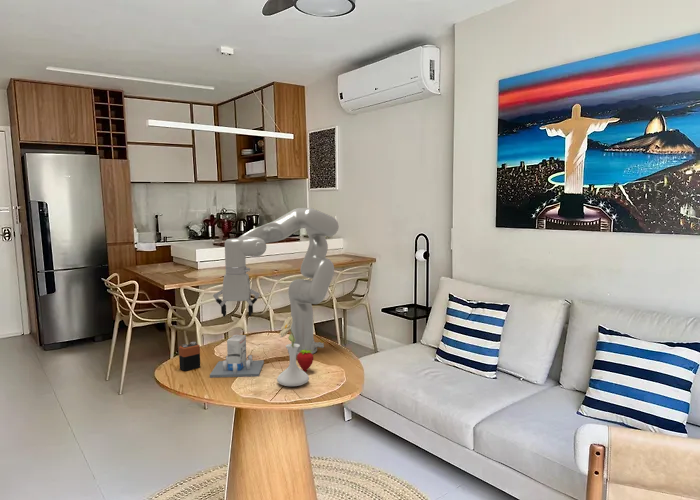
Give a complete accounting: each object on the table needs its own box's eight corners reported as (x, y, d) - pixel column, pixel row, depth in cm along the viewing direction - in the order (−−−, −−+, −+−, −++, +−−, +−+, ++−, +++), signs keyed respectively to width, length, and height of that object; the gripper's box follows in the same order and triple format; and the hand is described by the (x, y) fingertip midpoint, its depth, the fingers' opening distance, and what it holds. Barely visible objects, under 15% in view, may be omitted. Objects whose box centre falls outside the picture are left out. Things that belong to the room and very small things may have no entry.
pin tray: (263, 362, 194) (263, 351, 194) (258, 376, 178) (258, 364, 178) (218, 363, 193) (218, 352, 193) (209, 377, 177) (209, 365, 177)
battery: (200, 367, 188) (200, 342, 187) (184, 371, 184) (183, 346, 183) (195, 365, 191) (194, 340, 191) (179, 369, 187) (178, 344, 186)
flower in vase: (280, 377, 177) (278, 310, 175) (310, 378, 176) (310, 310, 174) (273, 391, 164) (272, 319, 162) (306, 391, 163) (305, 319, 161)
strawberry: (307, 367, 188) (306, 342, 187) (316, 372, 182) (316, 347, 181) (293, 370, 185) (293, 344, 184) (303, 376, 178) (302, 349, 178)
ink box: (239, 371, 181) (239, 340, 180) (227, 370, 182) (226, 340, 181) (247, 363, 190) (246, 334, 189) (235, 363, 190) (234, 334, 189)
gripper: (260, 269, 187) (261, 312, 188) (214, 270, 186) (216, 313, 187) (257, 272, 179) (258, 317, 181) (210, 273, 178) (212, 318, 180)
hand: (237, 315), depth 184 cm, fingers open, 9 cm apart
